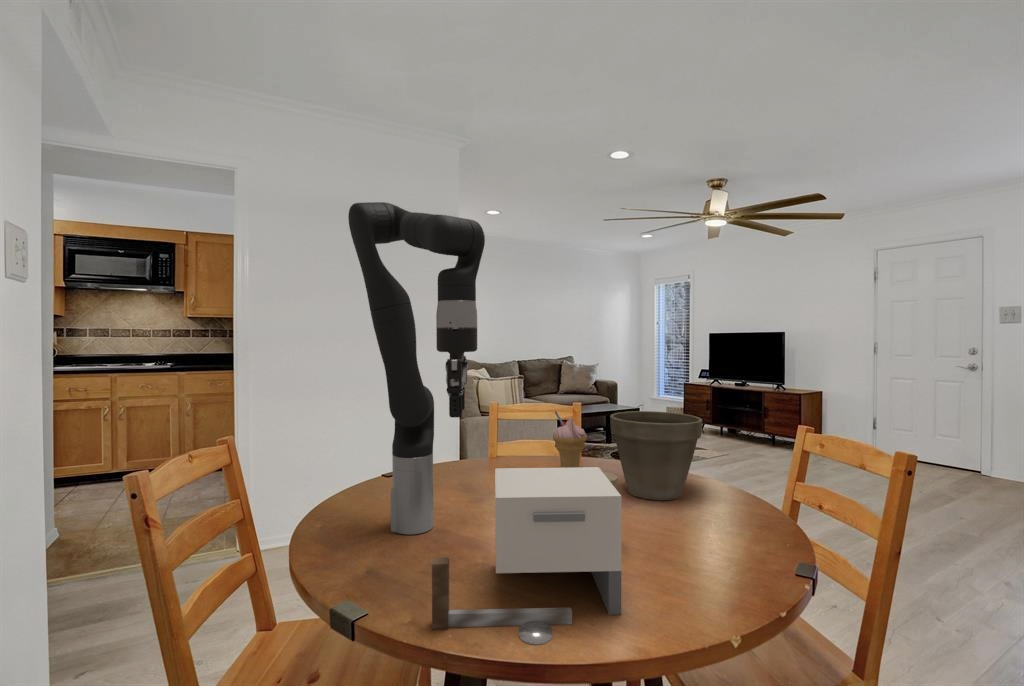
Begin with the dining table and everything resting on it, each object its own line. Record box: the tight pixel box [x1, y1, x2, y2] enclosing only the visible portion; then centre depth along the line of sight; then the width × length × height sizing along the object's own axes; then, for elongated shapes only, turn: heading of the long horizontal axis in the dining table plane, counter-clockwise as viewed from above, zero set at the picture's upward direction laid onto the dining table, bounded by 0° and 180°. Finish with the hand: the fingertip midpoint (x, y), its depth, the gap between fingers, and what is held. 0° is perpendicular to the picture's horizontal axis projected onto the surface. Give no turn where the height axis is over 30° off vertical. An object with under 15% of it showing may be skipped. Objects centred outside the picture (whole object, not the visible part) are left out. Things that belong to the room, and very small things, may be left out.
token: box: [518, 621, 553, 646], centre depth 78 cm, size 5×5×1 cm
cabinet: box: [494, 466, 622, 616], centre depth 92 cm, size 20×19×19 cm
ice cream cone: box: [552, 410, 588, 468], centre depth 167 cm, size 11×11×20 cm
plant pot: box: [609, 410, 703, 501], centre depth 147 cm, size 25×25×22 cm
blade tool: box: [431, 556, 573, 631], centre depth 81 cm, size 21×2×10 cm, turn 92°
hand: (457, 413), depth 97 cm, fingers open, 8 cm apart
